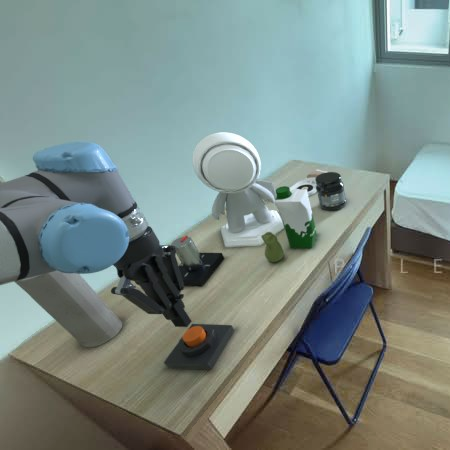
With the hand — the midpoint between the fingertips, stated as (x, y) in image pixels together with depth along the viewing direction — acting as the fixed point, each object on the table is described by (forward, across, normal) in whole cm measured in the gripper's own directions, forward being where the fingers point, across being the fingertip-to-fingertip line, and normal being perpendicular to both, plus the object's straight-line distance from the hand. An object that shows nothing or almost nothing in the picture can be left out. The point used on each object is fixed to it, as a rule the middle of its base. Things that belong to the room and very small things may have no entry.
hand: (183, 323), depth 66 cm
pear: (+9, +32, -5) cm, 33 cm away
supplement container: (+9, +64, -15) cm, 67 cm away
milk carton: (+9, +40, -11) cm, 43 cm away
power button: (+6, 0, 0) cm, 6 cm away
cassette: (+9, +70, +15) cm, 73 cm away
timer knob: (+7, +25, +17) cm, 31 cm away
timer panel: (+9, +26, +17) cm, 32 cm away
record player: (+8, +80, -1) cm, 80 cm away
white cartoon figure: (+9, +48, +10) cm, 49 cm away
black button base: (+10, 0, 0) cm, 10 cm away
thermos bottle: (+10, +4, +28) cm, 30 cm away
